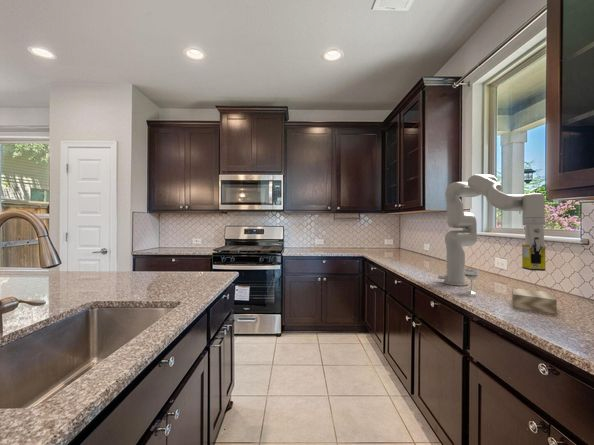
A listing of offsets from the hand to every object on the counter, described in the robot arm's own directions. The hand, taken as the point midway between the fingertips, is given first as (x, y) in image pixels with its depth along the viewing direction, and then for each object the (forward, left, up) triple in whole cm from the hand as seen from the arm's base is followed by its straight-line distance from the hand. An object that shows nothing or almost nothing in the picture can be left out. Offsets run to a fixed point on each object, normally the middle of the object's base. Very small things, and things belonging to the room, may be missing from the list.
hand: (533, 262), depth 125 cm
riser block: (0, 0, -20) cm, 20 cm away
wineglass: (-22, +15, -20) cm, 33 cm away
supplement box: (0, 0, -4) cm, 4 cm away
